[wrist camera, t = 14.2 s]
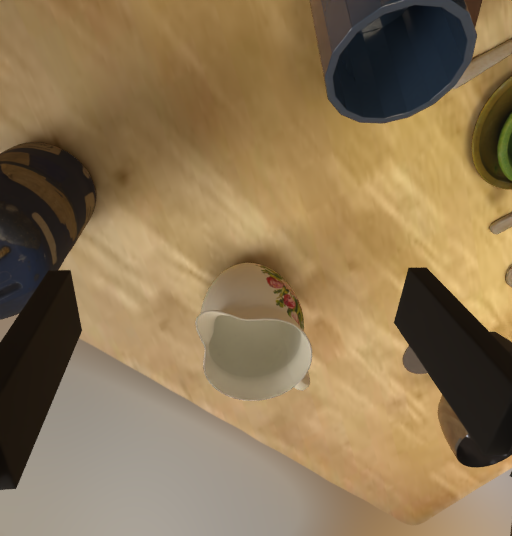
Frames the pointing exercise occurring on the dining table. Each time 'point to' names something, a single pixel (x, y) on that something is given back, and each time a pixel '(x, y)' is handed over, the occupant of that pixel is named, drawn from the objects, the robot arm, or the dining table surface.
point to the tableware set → (494, 132)
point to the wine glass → (454, 425)
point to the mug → (391, 54)
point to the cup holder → (473, 9)
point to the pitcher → (253, 334)
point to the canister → (38, 217)
